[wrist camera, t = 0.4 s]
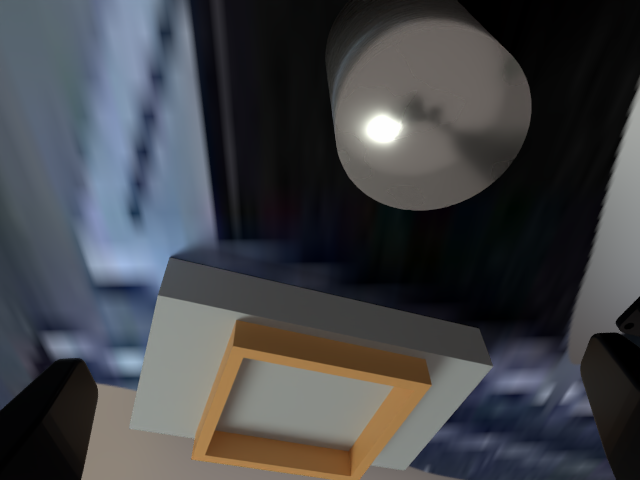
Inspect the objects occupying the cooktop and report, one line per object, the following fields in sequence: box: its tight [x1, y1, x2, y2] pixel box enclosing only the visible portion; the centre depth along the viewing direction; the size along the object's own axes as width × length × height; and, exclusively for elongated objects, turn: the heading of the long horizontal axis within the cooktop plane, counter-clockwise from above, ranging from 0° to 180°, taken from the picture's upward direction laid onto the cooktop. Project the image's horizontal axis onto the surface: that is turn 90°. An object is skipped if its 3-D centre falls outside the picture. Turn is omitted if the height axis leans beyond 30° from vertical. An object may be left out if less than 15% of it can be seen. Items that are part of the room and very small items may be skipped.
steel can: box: [326, 0, 531, 210], centre depth 16 cm, size 5×5×6 cm
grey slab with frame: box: [129, 258, 493, 480], centre depth 27 cm, size 16×10×4 cm, turn 71°
